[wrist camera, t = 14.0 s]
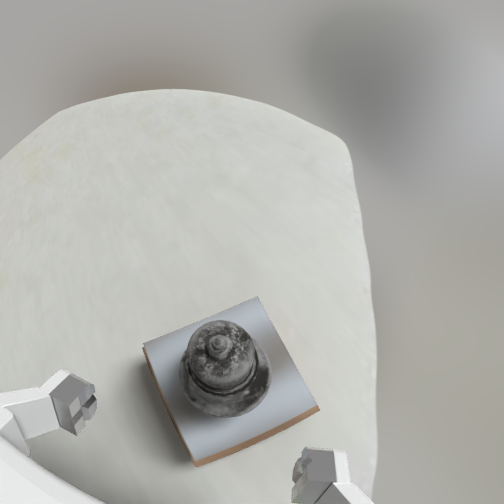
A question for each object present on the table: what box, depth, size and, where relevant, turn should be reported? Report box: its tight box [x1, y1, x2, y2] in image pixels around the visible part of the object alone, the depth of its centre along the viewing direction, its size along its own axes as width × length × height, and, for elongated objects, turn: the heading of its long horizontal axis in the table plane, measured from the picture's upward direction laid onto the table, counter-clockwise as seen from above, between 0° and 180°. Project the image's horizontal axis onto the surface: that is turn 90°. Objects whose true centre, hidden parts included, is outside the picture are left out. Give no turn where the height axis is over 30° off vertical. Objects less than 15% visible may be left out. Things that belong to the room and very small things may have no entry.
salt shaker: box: [179, 320, 272, 418], centre depth 15 cm, size 6×6×12 cm
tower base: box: [142, 296, 320, 467], centre depth 24 cm, size 12×12×9 cm
